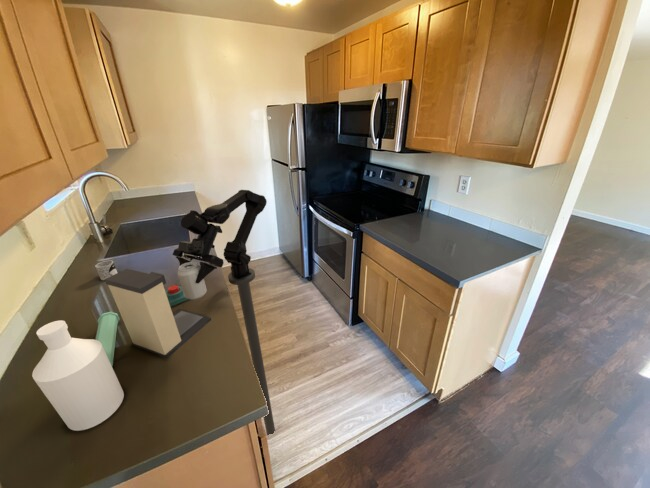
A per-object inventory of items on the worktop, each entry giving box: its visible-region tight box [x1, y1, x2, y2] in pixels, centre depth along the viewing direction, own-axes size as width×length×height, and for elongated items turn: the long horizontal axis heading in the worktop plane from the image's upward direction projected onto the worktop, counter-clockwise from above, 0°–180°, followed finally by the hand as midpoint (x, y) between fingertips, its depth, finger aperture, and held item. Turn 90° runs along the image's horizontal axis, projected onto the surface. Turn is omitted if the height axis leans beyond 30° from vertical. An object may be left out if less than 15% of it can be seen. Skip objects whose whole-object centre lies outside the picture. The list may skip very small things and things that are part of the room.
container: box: [95, 311, 121, 367], centre depth 85 cm, size 6×6×25 cm
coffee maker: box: [103, 268, 212, 359], centre depth 86 cm, size 18×15×24 cm
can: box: [176, 261, 208, 301], centre depth 96 cm, size 8×8×12 cm
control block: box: [165, 285, 189, 307], centre depth 108 cm, size 10×9×4 cm
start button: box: [167, 284, 179, 294], centre depth 107 cm, size 4×4×2 cm
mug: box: [94, 259, 119, 281], centre depth 127 cm, size 10×7×7 cm
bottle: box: [31, 319, 125, 432], centre depth 63 cm, size 12×12×25 cm
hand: (188, 281), depth 95 cm, fingers closed on can, 7 cm apart
